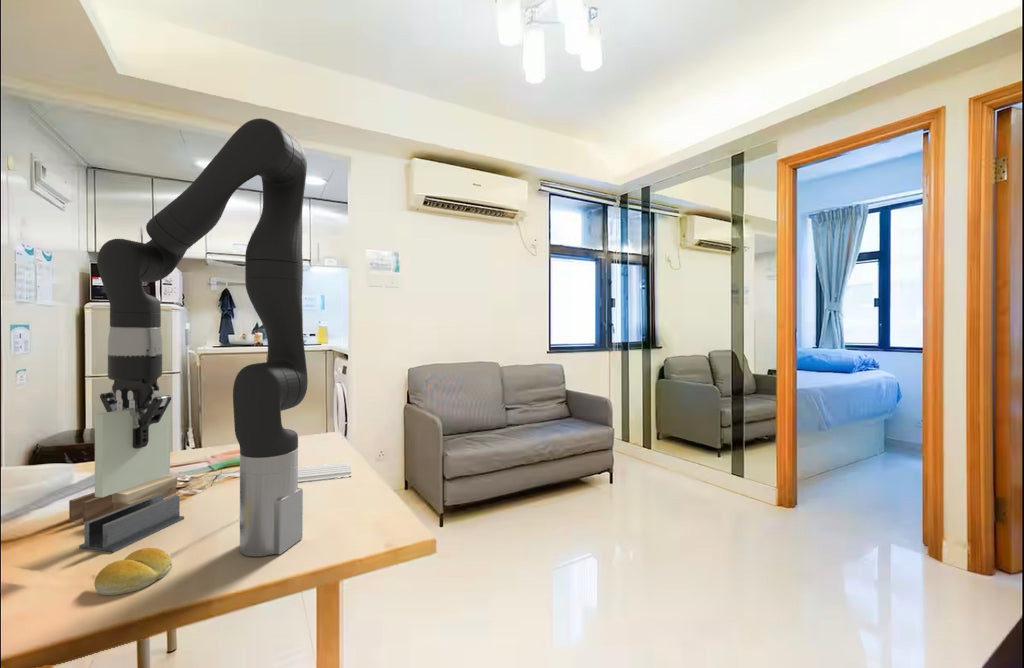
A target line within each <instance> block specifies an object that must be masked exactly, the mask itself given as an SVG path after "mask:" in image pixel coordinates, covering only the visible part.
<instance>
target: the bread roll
mask: <svg viewBox="0 0 1024 668" xmlns="http://www.w3.org/2000/svg"><path fill="white" fill-rule="evenodd" d="M172 568H173V562H172V558H171V556H170V555H169V554H168V553H167V552H165V551H164V550H163V549H160V548H156V547H145V548H141V549H137V550H135V551H133V552H131V553H130V554H128V555H127V556H126V557H125V558H124V559H121V560H116V561H113V562H111V563H108V564H107V565H106V566H104V567H103V568H102V569H101V570H100V571H99V572H98V573H97V575H96V577H95V579H94V588H95V590H96V592H97V593H98V594H99V595H102V596H117V595H122V594H127V593H133V592H136V591H139V590H141V589H144V588H146V587H147V586H150V585H152V584H154V583H155V582H156V581H157V580H160V579H162V578H163V577H165V576H166V575H167V574H168V573H169V572H170V571H171V570H172Z"/></svg>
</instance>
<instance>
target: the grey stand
mask: <svg viewBox="0 0 1024 668" xmlns="http://www.w3.org/2000/svg"><path fill="white" fill-rule="evenodd" d="M180 498H181V497H180V495H178V494H177V495H175V496H172V497H170V498H167V499H165V500H163V494H157V495H154V496H152V497H149V498H146V499H144V500H141V501H139V502H136V503H134V504H131V505H129V506H126V507H123V508H121V509H118V510H116V511H113V512H111V513H108V514H105V515H103V516H100V517H98V518H95V519H93V520H90V521H87V522H85V523H83V524H84V525H83V526H84V527H83V528H84V535H83V536H84V542H83V543H82V544H79V546H78V547H79V549H81V550H88V551H95V552H103V553H108V554H109V553H111V554H114V553H117V552H118V551H120V550H122V549H125V548H127V547H129V546H131V545H133V544H136V543H138V542H139V541H141V540H143V539H146V538H148V537H150V536H152V535H154V534H156V533H158V532H160V531H163V530H164V529H166V528H168V527H169V528H170V527H171V526H173V525H175V524H177V523H180V522H181V521H184V520H185V516H184V515H183V516H182V515H180V511H181V510H180V507H181V506H180V505H181V503H180V502H181V501H180Z"/></svg>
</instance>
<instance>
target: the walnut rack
mask: <svg viewBox="0 0 1024 668" xmlns="http://www.w3.org/2000/svg"><path fill="white" fill-rule="evenodd" d="M184 500H187V497H180V502H181V501H184ZM68 507H69V510H68V511H69V512H68V515H69V520H68V522H69V523H70V522H73V523H79V524H80V523H81V524H84V523H85V522H87V521H90V520H93V519H95V518H98V517H100V516H103V515H105V514H108V513H111V512H113V502H112V494H111V495H108V496H105V497H95V491H94V492H91V493H87V494H85V495H82V496H80V497H76V498H73V499H70V500H69V501H68Z"/></svg>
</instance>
